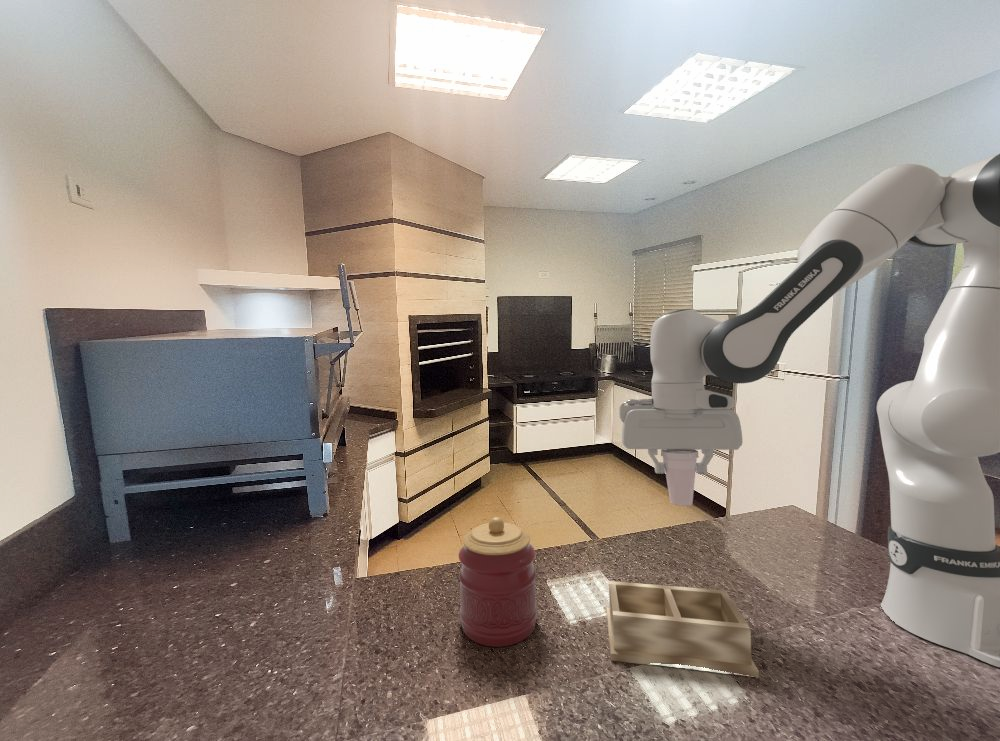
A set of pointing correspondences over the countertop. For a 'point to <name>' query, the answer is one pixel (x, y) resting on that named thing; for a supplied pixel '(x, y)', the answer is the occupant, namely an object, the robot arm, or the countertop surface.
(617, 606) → the wooden divided tray
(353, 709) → the countertop surface
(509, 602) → the canister
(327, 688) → the countertop surface
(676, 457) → the smoothie
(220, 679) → the countertop surface
